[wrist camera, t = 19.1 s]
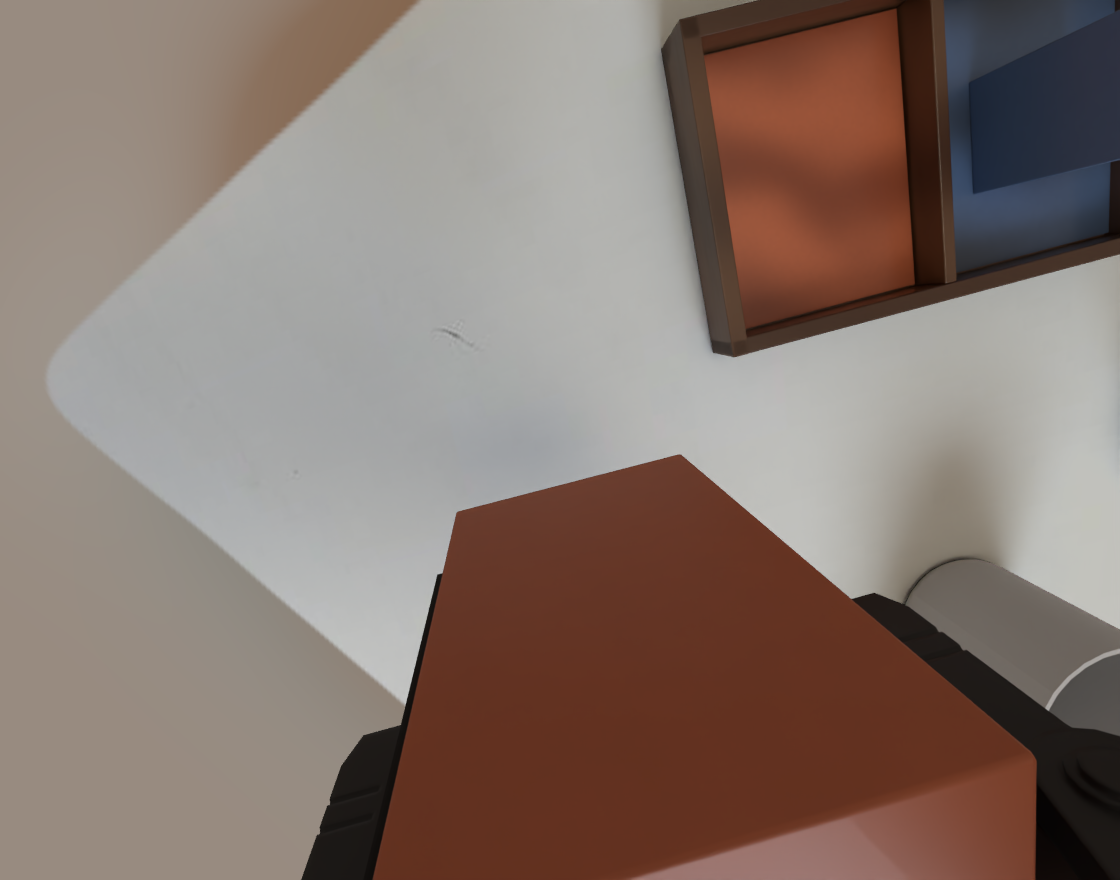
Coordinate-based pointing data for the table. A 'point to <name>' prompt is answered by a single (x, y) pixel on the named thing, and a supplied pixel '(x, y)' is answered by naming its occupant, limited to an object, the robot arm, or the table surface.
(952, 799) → the terracotta bar
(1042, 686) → the cup
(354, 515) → the table surface
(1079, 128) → the blue bar
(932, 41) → the tray
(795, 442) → the table surface
